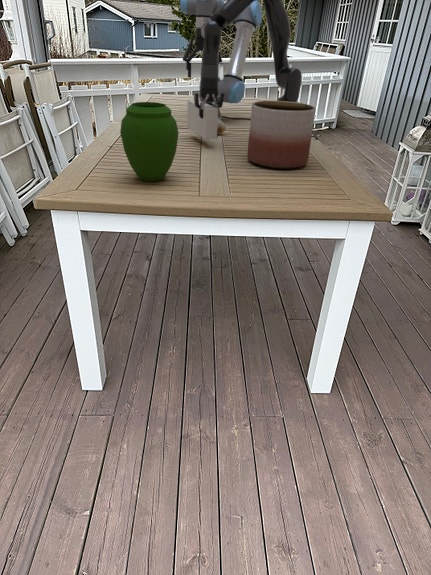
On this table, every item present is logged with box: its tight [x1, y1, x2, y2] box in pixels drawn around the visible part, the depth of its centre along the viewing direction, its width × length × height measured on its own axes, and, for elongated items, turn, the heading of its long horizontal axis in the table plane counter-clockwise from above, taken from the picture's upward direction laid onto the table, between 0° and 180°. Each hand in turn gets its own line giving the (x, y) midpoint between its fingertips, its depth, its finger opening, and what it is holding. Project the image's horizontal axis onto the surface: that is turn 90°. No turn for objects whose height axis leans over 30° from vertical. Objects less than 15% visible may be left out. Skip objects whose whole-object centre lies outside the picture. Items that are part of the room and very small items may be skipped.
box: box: [187, 99, 218, 140], centre depth 191 cm, size 24×6×13 cm, turn 22°
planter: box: [246, 100, 317, 170], centre depth 167 cm, size 25×25×22 cm
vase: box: [119, 101, 179, 182], centre depth 140 cm, size 20×20×24 cm
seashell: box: [217, 118, 227, 135], centre depth 211 cm, size 10×6×8 cm, turn 97°
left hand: (202, 77), depth 207 cm, fingers open, 13 cm apart
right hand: (208, 117), depth 184 cm, fingers closed on box, 5 cm apart
